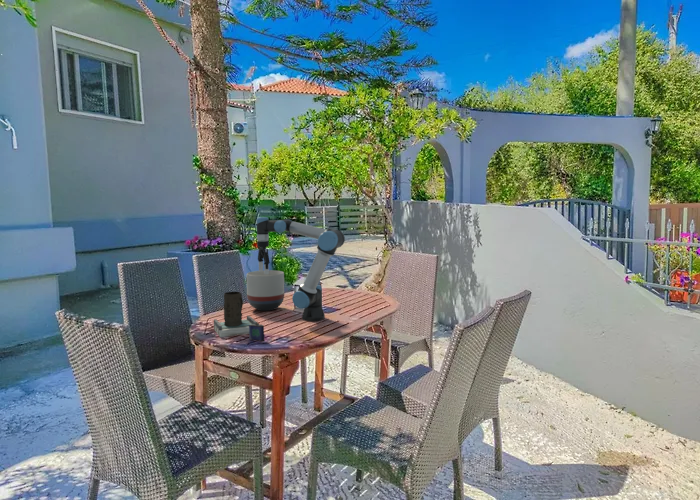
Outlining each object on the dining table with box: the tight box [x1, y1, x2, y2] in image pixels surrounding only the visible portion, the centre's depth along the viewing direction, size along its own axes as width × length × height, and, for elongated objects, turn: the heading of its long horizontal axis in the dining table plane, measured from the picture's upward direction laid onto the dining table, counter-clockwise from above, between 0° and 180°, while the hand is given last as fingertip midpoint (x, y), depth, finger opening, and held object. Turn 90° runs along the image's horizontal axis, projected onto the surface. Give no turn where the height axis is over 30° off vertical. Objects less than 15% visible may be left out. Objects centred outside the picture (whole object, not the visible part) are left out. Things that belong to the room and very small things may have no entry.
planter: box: [246, 269, 285, 312], centre depth 352 cm, size 27×27×27 cm
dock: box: [213, 315, 257, 338], centre depth 295 cm, size 20×22×6 cm
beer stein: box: [223, 291, 244, 327], centre depth 296 cm, size 15×11×20 cm
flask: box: [248, 321, 265, 342], centre depth 276 cm, size 9×3×11 cm, turn 72°
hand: (263, 272), depth 320 cm, fingers open, 13 cm apart
